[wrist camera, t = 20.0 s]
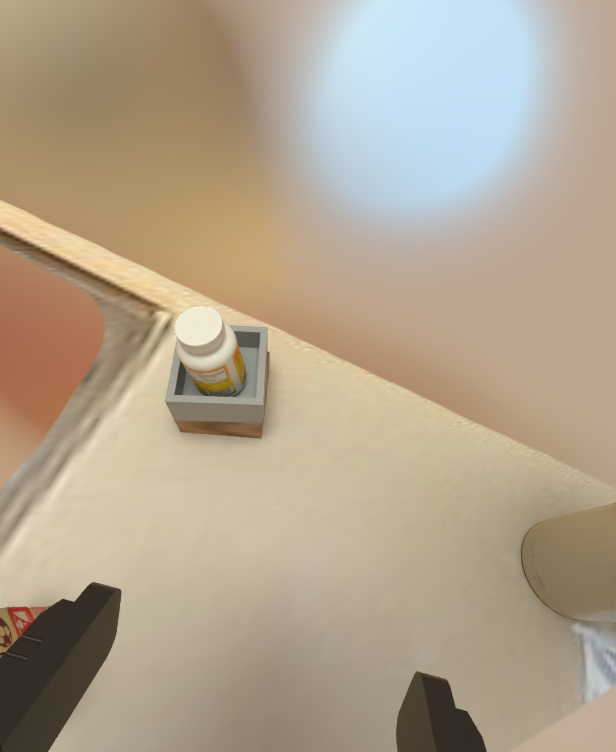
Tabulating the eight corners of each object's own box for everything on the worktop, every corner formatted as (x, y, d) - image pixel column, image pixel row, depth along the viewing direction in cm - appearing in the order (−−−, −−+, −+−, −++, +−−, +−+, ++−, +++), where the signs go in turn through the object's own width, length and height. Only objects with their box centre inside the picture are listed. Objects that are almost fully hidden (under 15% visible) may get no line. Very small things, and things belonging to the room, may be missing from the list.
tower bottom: (269, 371, 49) (269, 351, 45) (261, 439, 44) (260, 424, 41) (196, 364, 48) (190, 344, 44) (181, 432, 44) (173, 417, 40)
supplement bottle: (222, 411, 39) (197, 365, 30) (185, 382, 41) (151, 330, 32) (258, 373, 41) (243, 320, 32) (221, 346, 42) (198, 289, 34)
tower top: (267, 350, 45) (267, 327, 41) (263, 422, 41) (263, 404, 37) (187, 346, 44) (180, 322, 40) (174, 420, 40) (165, 401, 36)
